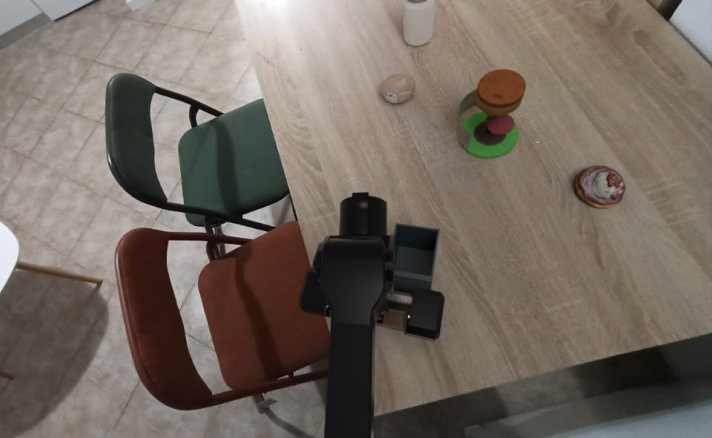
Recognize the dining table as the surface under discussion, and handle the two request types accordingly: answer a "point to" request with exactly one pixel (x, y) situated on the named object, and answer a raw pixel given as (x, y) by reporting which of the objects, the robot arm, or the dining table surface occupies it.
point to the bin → (414, 257)
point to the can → (418, 21)
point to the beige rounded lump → (398, 88)
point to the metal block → (394, 316)
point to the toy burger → (491, 114)
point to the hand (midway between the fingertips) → (373, 314)
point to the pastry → (599, 186)
